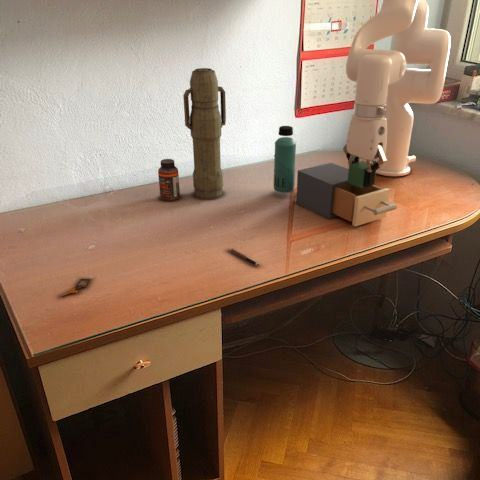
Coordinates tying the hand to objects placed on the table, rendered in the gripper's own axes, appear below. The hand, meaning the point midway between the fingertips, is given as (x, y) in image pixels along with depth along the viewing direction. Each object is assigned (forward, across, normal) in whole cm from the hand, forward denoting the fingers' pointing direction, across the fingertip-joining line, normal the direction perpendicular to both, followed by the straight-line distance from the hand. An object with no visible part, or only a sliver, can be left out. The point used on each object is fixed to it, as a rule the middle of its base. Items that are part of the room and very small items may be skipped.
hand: (360, 182), depth 141 cm
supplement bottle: (+10, +44, +35) cm, 57 cm away
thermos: (+10, +40, +24) cm, 47 cm away
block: (0, 0, 0) cm, 0 cm away
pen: (+10, -2, +39) cm, 41 cm away
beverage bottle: (+10, +26, +5) cm, 29 cm away
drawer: (+9, -1, 0) cm, 9 cm away
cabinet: (+10, +12, 0) cm, 15 cm away
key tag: (+10, +6, +77) cm, 78 cm away
